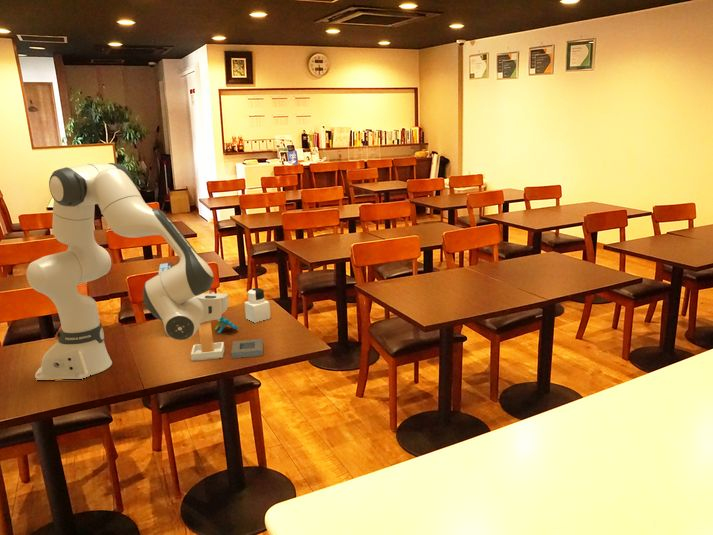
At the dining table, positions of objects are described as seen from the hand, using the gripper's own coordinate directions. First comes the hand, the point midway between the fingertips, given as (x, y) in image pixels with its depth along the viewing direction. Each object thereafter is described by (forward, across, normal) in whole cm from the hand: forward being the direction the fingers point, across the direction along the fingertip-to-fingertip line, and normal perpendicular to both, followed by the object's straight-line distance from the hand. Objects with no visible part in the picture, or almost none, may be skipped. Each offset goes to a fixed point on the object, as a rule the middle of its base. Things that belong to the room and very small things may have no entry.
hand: (196, 294), depth 177 cm
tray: (+13, +1, -25) cm, 28 cm away
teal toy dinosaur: (+34, +5, -25) cm, 43 cm away
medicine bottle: (+44, +17, -24) cm, 53 cm away
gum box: (+44, -15, -26) cm, 53 cm away
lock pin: (+13, +1, -24) cm, 28 cm away
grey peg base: (+13, +14, -24) cm, 31 cm away
